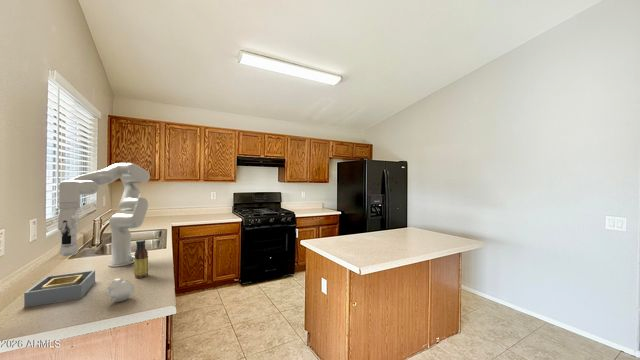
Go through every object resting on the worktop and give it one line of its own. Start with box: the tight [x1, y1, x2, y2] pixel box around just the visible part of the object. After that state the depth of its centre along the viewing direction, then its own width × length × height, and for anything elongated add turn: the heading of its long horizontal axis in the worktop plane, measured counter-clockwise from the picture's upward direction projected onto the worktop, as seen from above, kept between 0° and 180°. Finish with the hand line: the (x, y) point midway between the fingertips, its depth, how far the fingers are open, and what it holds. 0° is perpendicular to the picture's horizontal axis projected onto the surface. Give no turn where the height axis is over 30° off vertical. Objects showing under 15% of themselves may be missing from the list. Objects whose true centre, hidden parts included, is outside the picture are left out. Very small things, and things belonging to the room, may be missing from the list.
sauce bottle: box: [133, 239, 149, 279], centre depth 140 cm, size 6×6×20 cm
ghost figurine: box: [105, 277, 135, 303], centre depth 113 cm, size 9×10×10 cm
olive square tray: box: [41, 274, 83, 290], centre depth 120 cm, size 11×11×5 cm
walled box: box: [23, 269, 96, 308], centre depth 120 cm, size 18×20×6 cm
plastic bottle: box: [59, 222, 79, 257], centre depth 126 cm, size 6×7×20 cm
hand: (69, 242), depth 126 cm, fingers closed on plastic bottle, 5 cm apart
